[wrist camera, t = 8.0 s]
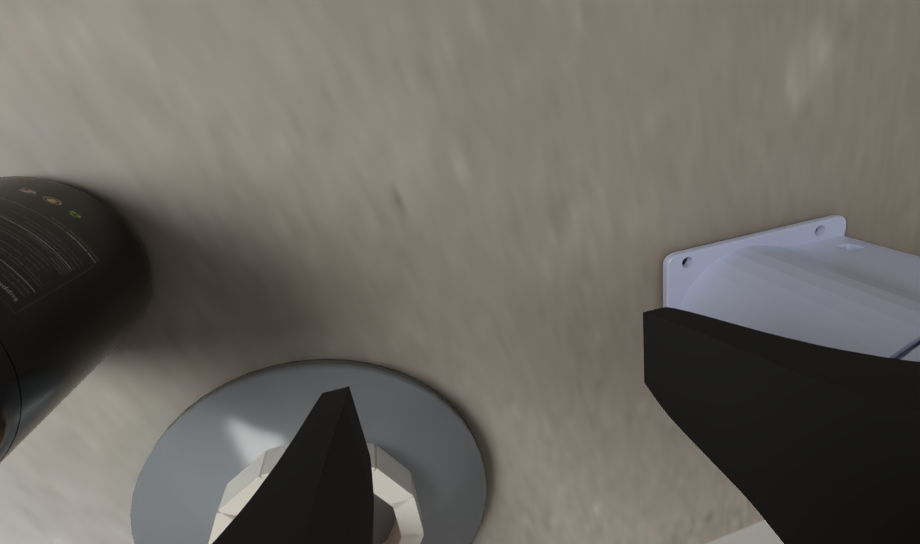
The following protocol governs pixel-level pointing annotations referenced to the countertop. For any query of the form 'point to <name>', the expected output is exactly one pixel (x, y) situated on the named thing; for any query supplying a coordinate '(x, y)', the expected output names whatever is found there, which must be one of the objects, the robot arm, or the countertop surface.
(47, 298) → the supplement bottle
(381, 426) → the tray
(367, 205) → the countertop surface
